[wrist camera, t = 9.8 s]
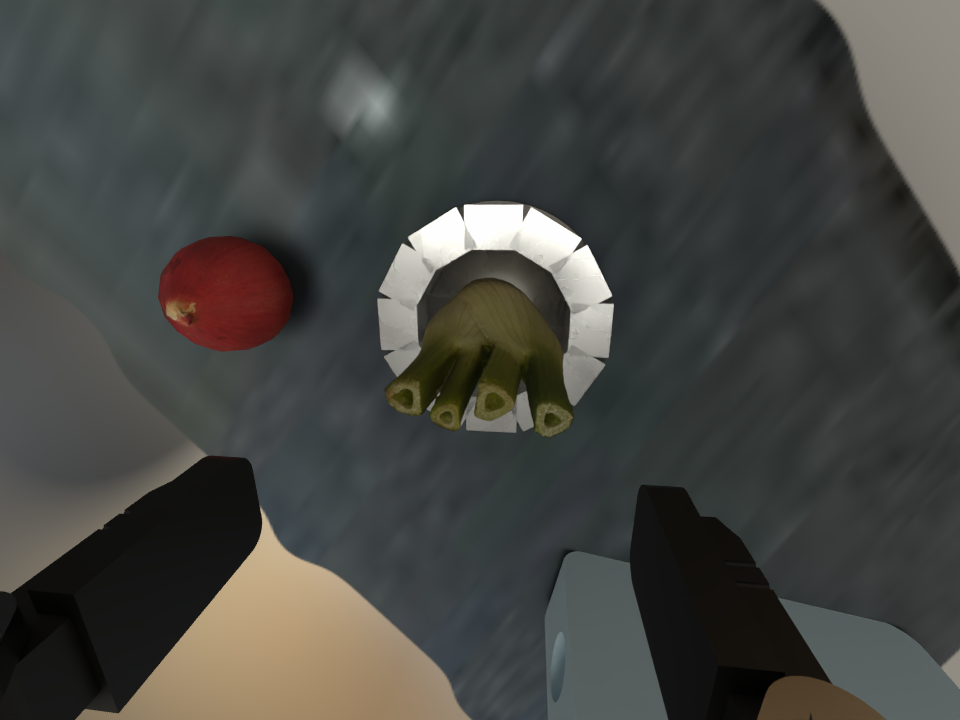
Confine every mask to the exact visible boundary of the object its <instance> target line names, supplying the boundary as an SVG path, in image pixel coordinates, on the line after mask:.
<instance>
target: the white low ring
mask: <svg viewBox="0 0 960 720" xmlns="http://www.w3.org/2000/svg"><path fill="white" fill-rule="evenodd" d="M408 238H409V240H410V241H408V242H405V243H402V245H401V247H400V249H399V251H398V253H397V255H396V257H395V259H394V261H393V263H392V265H391V267H390V269H389V271H388V273H387V275H386V277H385V280H384V282H383V284H382V286H381V288H380V290H379V292H381V293H383V294H384V295H383V296H381V297H379V298H378V299H377V300H378V313H379V326H380V339H381V350H390V351H389V352H388V353H387V354H386V355H385V356H384V358H385V359H386V361H387V362H388V364H389V366H390V367H391V369H392V370H393V372H394V373H395V375H396V376H397V377H398V376H399V375H400V374H401V373H402V372H403V371H404V370H405V369H406V368H407V367H408V366H409V365H410V364H411V363H412V362H413V361H414V359H415V358H416V357H417V356H418V354H419V352H420V350H421V348H422V343H423V338H424V333H425V330H426V327H427V325H428V323H429V322H430V320H431V319H432V318H433V316H435V314H437V313H438V311H439V310H440V309H441V308H442V307H443V306H444V305H445V304H447V303H448V302H449V301H451V300H452V299H454V298H455V297H456V296H457V295H458V294H459V292H460V291H461V290H462V289H463V288H464V286H465V285H467V284H468V283H470V282H471V281H473V280H476V279H481V278H491V277H492V278H497V279H501V280H505V281H507V282H509V283H511V284H513V285H514V286H515V287H517V288H518V289H520V290H521V291H522V292H523V293H525V294H526V296H527V297H528V298H529V299H530V300H531V301H532V302H533V304H534V305H535V306H536V307H537V308H538V310H539V311H540V313H541V314H542V316H543V317H544V319H545V320H546V322H547V323H548V326H549V327H550V328H551V329H552V331H553V332H554V333H555V336H556V337H557V339H558V341H559V343H560V345H561V348H562V350H563V375H564V384H565V388H566V390H567V394H568V399H569V401H570V404H572V405H574V406H575V405H576V404H577V403H578V401H579V400H580V399H581V397H582V396H583V395H584V393H585V392H586V391H587V389H588V388H589V386H590V385H591V384H592V382H593V381H594V380H595V378H596V377H597V376H598V374H599V373H600V372H601V370H602V369H603V368H604V366H605V365H606V364H605V362H604V360H603V358H609V348H610V338H611V328H612V318H613V309H614V303H613V302H612V301H611V300H610V299H609V298H610V297H612V294H611V292H610V290H609V288H608V286H607V284H606V282H605V280H604V278H603V275H602V273H601V271H600V269H599V267H598V264H597V262H596V260H595V258H594V257H593V255H592V253H591V251H590V249H589V247H588V245H587V244H586V243H584V242H583V241H582V238H580V237H579V236H578V235H577V234H576V233H575V232H574V231H573V230H572V229H571V228H570V227H569V226H567V225H566V224H565V223H563V222H562V221H560V220H559V219H558V218H556V217H554V216H552V215H551V214H549V213H547V212H545V211H543V210H541V209H538V208H535V207H532V206H530V205H526V204H521V203H516V202H509V201H486V202H479V203H474V204H469V205H464V206H463V207H455V208H454V209H452V210H451V211H449V212H447V213H446V214H444V215H443V216H441V217H439V218H438V219H436V220H435V221H433V222H431V223H430V224H428V225H427V226H425V227H423V228H422V229H420V230H418V231H417V232H415V233H414V234H412V235H410V236H409V237H408ZM602 357H603V358H602ZM479 381H480V379H479ZM479 381H478V382H477V386H476V388H475V390H474V392H473V394H472V396H471V399H470V401H469V403H468V405H467V407H466V410H465V413H464V415H463V418H462V421H461V425H462V424H463V422H464V420H465V419H466V430H474V431H493V432H512V433H516V426H517V422H518V423H519V425H520V427H521V428H522V430H523V431H525V430H527V429H530V428H532V427H534V424H533V420H532V417H531V411H530V407H529V402H528V396H527V391H526V385H525V384H524V383H523V381H520V384H519V388H518V394H517V398H516V402H515V405H514V408H513V409H512V410H511V411H510V412H508V413H507V414H505V415H503V416H501V417H499V418H497V419H495V420H492V421H485V420H481V419H479V418H477V417H475V416H474V409H475V403H476V401H477V400H476V398H477V393H478V383H479ZM439 394H440V393H439ZM439 394H438V395H437V397H438V396H439ZM435 400H436V399H434V401H432V403H431V404H430V405H429V407H428V408H427V410H429V411H431V409H432V407H433V405H434V403H435ZM460 427H461V426H460Z"/></svg>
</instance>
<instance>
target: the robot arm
mask: <svg viewBox="0 0 960 720" xmlns="http://www.w3.org/2000/svg"><path fill="white" fill-rule="evenodd" d="M261 529H262V517H261V511H260V506H259V501H258V495H257V490H256V485H255V479H254V474H253V469H252V466H251V463H250V462H249V461H248V460H247V459H245V458H239V457H223V456H206V457H204V458H202V459H201V460H200V461H198V462H197V463H196V464H194V465H193V466H192V467H190V468H189V469H188V470H186V471H185V472H184V473H182V474H181V475H180V476H178V477H177V478H176V479H174V480H173V481H171V482H169V483H167V484H165V485H163V486H161V487H159V488H157V489H155V490H152V491H151V492H149V493H147V494H146V495H144V496H143V497H142V498H140V499H139V500H138V501H137V502H135V503H134V504H132V505H131V506H130V507H128V508H127V509H125V512H124V514H119V515H117V516H116V517H114V518H113V519H112V520H110V521H109V522H108V523H106V524H105V525H104V528H103V529H102V530H100V529H98V530H97V531H96V532H94V533H93V534H91V535H90V536H89V537H87V538H86V539H84V540H83V541H82V542H80V543H79V544H78V545H76V546H75V547H73V548H72V549H71V550H69V551H68V552H67V553H66V554H64V555H63V556H61V557H60V558H59V559H57V560H56V561H54V562H53V563H52V564H50V565H49V566H48V567H46V568H45V569H44V570H42V571H41V572H40V573H38V574H37V575H35V576H34V577H33V578H32V579H30V580H29V581H27V582H26V583H25V584H23V585H22V586H20V587H19V588H18V589H16V590H15V591H13V592H12V593H8V592H3V591H0V720H75V719H76V718H77V717H78V716H79V715H80V714H81V712H82V711H83V710H84V709H90V710H98V711H105V712H113V713H119V712H120V711H121V710H122V709H123V707H124V706H125V705H126V704H127V703H128V701H129V700H130V699H131V698H132V696H133V695H134V694H135V693H136V692H137V690H138V689H139V688H140V687H141V686H142V684H143V683H144V682H145V681H146V679H147V678H148V677H149V676H150V675H151V673H152V672H153V671H154V669H156V667H157V666H158V665H159V664H160V663H161V661H162V660H163V659H164V658H165V656H166V655H167V654H168V653H169V652H170V650H171V649H172V648H173V647H174V646H175V644H176V643H177V642H178V641H179V640H180V638H181V637H182V636H183V635H184V633H185V632H186V631H187V630H188V629H189V627H190V626H191V625H192V624H193V623H194V621H195V620H196V619H197V618H198V616H199V615H200V614H201V613H202V611H203V610H204V609H205V608H206V607H207V606H208V604H209V603H210V602H211V601H212V599H213V598H214V597H215V596H216V595H217V593H218V592H219V591H220V590H221V589H222V587H223V586H224V585H225V584H226V582H227V581H228V580H229V579H230V578H231V576H232V575H233V574H234V573H235V572H236V570H237V569H238V568H239V567H240V566H241V564H242V563H243V562H244V561H245V559H246V558H247V557H248V556H249V555H250V553H251V552H252V551H253V549H254V548H255V546H256V544H257V542H258V540H259V537H260V534H261ZM630 571H631V579H632V585H633V589H634V593H635V596H636V600H637V604H638V608H639V611H640V615H641V619H642V623H643V626H644V630H645V634H646V638H647V642H648V645H649V649H650V653H651V657H652V660H653V664H654V668H655V672H656V675H657V679H658V683H659V687H660V691H661V694H662V698H663V702H664V706H665V709H666V713H667V717H668V720H886V719H885V718H884V717H883V716H882V715H880V714H879V713H878V712H877V711H876V710H875V709H873V708H872V707H870V706H869V705H868V704H866V703H865V702H864V701H862V700H861V699H859V698H857V697H856V696H854V695H853V694H851V693H849V692H847V691H846V690H844V689H842V688H840V687H838V686H836V685H833V684H832V682H831V681H830V679H829V678H828V676H827V675H826V673H825V672H824V670H823V668H822V667H821V665H820V664H819V662H818V660H817V659H816V657H815V656H814V654H813V653H812V651H811V649H810V648H809V646H808V645H807V643H806V642H805V640H804V638H803V637H802V635H801V634H800V632H799V630H798V629H797V627H796V626H795V624H794V623H793V621H792V619H791V618H790V616H789V615H788V613H787V611H786V610H785V608H784V607H783V605H782V604H781V602H780V600H779V599H778V597H777V596H776V594H775V592H774V591H773V590H770V588H769V583H768V581H767V580H766V578H765V577H764V575H763V573H762V572H761V570H760V569H759V568H756V562H755V561H754V559H753V558H752V556H751V554H750V553H749V551H748V550H747V548H746V547H745V545H744V543H743V542H742V540H741V539H740V538H739V537H738V536H737V535H736V534H735V533H733V532H732V531H731V530H730V529H729V528H727V527H726V526H725V525H724V524H723V523H722V522H720V521H719V520H718V519H717V518H716V517H702V516H700V515H699V513H698V511H697V509H696V508H695V506H694V504H693V502H692V500H691V498H690V497H689V495H688V493H687V491H686V490H685V489H684V488H682V487H669V486H654V485H641V486H640V488H639V491H638V497H637V504H636V511H635V519H634V526H633V534H632V541H631V549H630Z"/></svg>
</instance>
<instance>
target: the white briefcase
mask: <svg viewBox="0 0 960 720" xmlns="http://www.w3.org/2000/svg"><path fill="white" fill-rule="evenodd" d="M778 599H779V600H780V602H781V604H782V605H783V607H784V608H785V610H786V611H787V613H788V615H789V616H790V618H791V619H792V621H793V623H794V624H795V626H796V627H797V629H798V630H799V632H800V634H801V635H802V637H803V638H804V640H805V642H806V643H807V645H808V646H809V648H810V649H811V651H812V653H813V654H814V656H815V657H816V659H817V660H818V662H819V664H820V665H821V667H822V668H823V670H824V672H825V673H826V675H827V676H828V678H829V679H830V681H831V682H832V684H833V685H836V686H838V687H840V688H842V689H844V690H846V691H847V692H849V693H851V694H853V695H854V696H856V697H857V698H859V699H861V700H862V701H864V702H865V703H866V704H868V705H869V706H870V707H872V708H873V709H875V710H876V711H877V712H878V713H879V714H880V715H882V716H883V717H884V718H885V719H886V720H960V689H959V688H958V687H957V686H956V685H955V684H954V682H953V681H952V680H951V679H950V678H949V677H948V675H947V674H946V673H945V672H944V671H943V670H942V669H941V668H940V666H939V665H938V664H937V663H936V662H935V661H934V660H933V658H932V657H931V656H930V655H929V654H928V653H927V652H926V651H925V649H924V648H923V647H922V646H921V645H920V644H918V643H917V642H916V641H915V640H914V639H913V638H911V637H910V636H909V635H907V634H906V633H904V632H903V631H901V630H899V629H898V628H896V627H894V626H892V625H890V624H887V623H884V622H880V621H876V620H871V619H867V618H863V617H858V616H854V615H850V614H846V613H841V612H837V611H833V610H829V609H824V608H820V607H816V606H811V605H807V604H803V603H799V602H794V601H790V600H786V599H781V598H778ZM545 642H546V672H547V702H548V720H668V717H667V713H666V709H665V706H664V702H663V698H662V694H661V691H660V687H659V683H658V679H657V675H656V672H655V668H654V664H653V660H652V657H651V653H650V649H649V645H648V642H647V638H646V634H645V630H644V626H643V623H642V619H641V615H640V611H639V608H638V604H637V600H636V596H635V593H634V589H633V585H632V579H631V571H630V563H627V562H623V561H619V560H615V559H610V558H606V557H602V556H597V555H593V554H589V553H585V552H580V551H575V552H571V553H569V554H567V555H566V556H565V558H564V560H563V563H562V566H561V569H560V572H559V575H558V578H557V581H556V584H555V587H554V590H553V593H552V596H551V599H550V602H549V605H548V608H547V611H546V614H545Z"/></svg>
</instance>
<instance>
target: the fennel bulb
mask: <svg viewBox="0 0 960 720" xmlns="http://www.w3.org/2000/svg"><path fill="white" fill-rule="evenodd" d="M479 379H480V381H479ZM478 381H479V383H478V393H477V398H476V400H477V401H476V403H475V409H474V416H475V417H477V418H479V419H481V420H485V421H492V420H495V419H497V418H499V417H501V416H503V415H505V414H507V413H508V412H510V411H511V410H512V409H513V408H514V405H515V402H516V398H517V394H518V388H519V384H520V381H523V383H524V384H525V385H526V391H527V396H528V402H529V407H530V411H531V417H532V420H533V424H534V430H535V432H537V433H539V434H540V435H541V436H543V437H553V436H555V435H556V434H560V433H562V432H564V431H565V430H566V429H568V428H569V427H570V425H571V424H572V422H573V419H574V414H573V409H572V407H571V404H570V401H569V399H568V394H567V390H566V388H565V384H564V375H563V350H562V348H561V345H560V343H559V341H558V339H557V337H556V336H555V333H554V332H553V331H552V329H551V328H550V327H549V326H548V323H547V322H546V320H545V319H544V317H543V316H542V314H541V313H540V311H539V310H538V308H537V307H536V306H535V305H534V304H533V302H532V301H531V300H530V299H529V298H528V297H527V296H526V294H525V293H523V292H522V291H521V290H520V289H518V288H517V287H515V286H514V285H513V284H511V283H509V282H507V281H505V280H501V279H497V278H492V277H491V278H481V279H476V280H473V281H471V282H470V283H468V284H467V285H465V286H464V288H463V289H462V290H461V291H460V292H459V294H458V295H457V296H456V297H455V298H454V299H452V300H451V301H449V302H448V303H447V304H445V305H444V306H443V307H442V308H441V309H440V310H439V311H438V313H437V314H435V316H433V318H432V319H431V320H430V322H429V323H428V325H427V327H426V330H425V333H424V338H423V343H422V348H421V350H420V352H419V354H418V356H417V357H416V358H415V359H414V361H413V362H412V363H411V364H410V365H409V366H408V367H407V368H406V369H405V370H404V371H403V372H402V373H401V374H400V375H399V376H398V377H397V378H396V379H395V380H393V381H392V382H391V383H390V384H389V385H388V386H387V387H386V388H385V392H386V398H387V402H388V403H389V404H390V406H392V407H393V408H394V409H395V410H396V411H398V412H403V413H406V414H408V415H413V416H419V415H422V414H423V413H424V412H425V410H426V409H427V408H428V407H429V405H430V404H431V403H432V401H434V399H436V400H435V403H434V405H433V407H432V409H431V411H430V418H431V420H432V421H433V422H434V423H435V424H437V425H438V426H440V427H443V428H445V429H448V430H452V431H456V430H458V429H459V428H460V426H461V421H462V418H463V415H464V413H465V410H466V407H467V405H468V403H469V401H470V399H471V396H472V394H473V392H474V390H475V388H476V386H477V382H478ZM439 393H440V394H439ZM438 394H439V396H438V397H437V395H438Z"/></svg>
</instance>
